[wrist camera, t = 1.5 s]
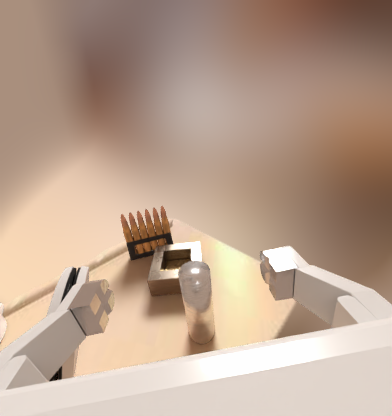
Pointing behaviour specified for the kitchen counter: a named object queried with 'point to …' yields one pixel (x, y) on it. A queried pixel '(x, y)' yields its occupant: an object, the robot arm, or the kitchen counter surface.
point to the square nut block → (170, 266)
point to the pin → (197, 300)
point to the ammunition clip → (146, 233)
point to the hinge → (62, 289)
